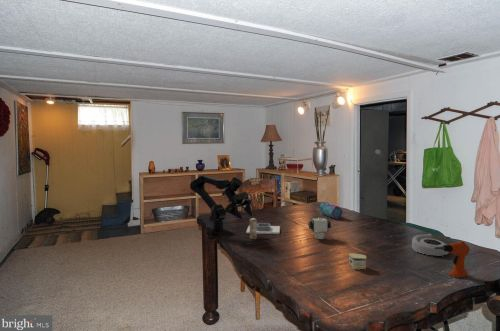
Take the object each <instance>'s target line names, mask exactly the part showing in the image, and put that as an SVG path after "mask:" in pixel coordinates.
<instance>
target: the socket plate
mask: <svg viewBox="0 0 500 331" xmlns="http://www.w3.org/2000/svg"><path fill="white" fill-rule="evenodd" d="M280 231H281V225H271V223H268V222H265V223H264V222H257V235H258V234H259V235H261V234H262V235H264V234H265V235H280V233H281V232H280ZM245 233H246V234H249V235H250V225H248V226H247V229H246V232H245Z"/></svg>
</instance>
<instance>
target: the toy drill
mask: <svg viewBox="0 0 500 331" xmlns="http://www.w3.org/2000/svg"><path fill="white" fill-rule="evenodd" d="M434 249H441V250H444V251H447V252H449V253H450V254H454V255H455V258H454V260H453V261H452V263H453V269H452V270H451V271H449V272H448V274H450V275H451V276H454V277H464V278H466V277H465V276H467V275H468V271H467V270H466V268H465V258H466V257H467V255H469V253H470V251H471V250H470V246H469V245H468V244H467V243H466V242H465V241H459V242H452V243H449V244H447V245H444V246H443V247H435V248H434ZM450 275H449V276H450ZM451 276H450V277H451ZM454 277H453V278H454ZM467 277H468V276H467Z"/></svg>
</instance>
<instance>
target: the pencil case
mask: <svg viewBox="0 0 500 331" xmlns="http://www.w3.org/2000/svg"><path fill="white" fill-rule="evenodd" d="M317 208H319V211H320V212H321V213H322V214H323V215H324V216H327V217H329V218H331V217H332V219H335V220H338V219H339V218H341V217H342V215H343V209H342V207H341V206H338V205H331V204H330V203H329V202H328V201H324V202H322V203H321V204H319V205H318V206H317Z"/></svg>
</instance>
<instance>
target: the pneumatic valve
mask: <svg viewBox="0 0 500 331" xmlns="http://www.w3.org/2000/svg"><path fill="white" fill-rule="evenodd" d="M307 224H308V229H309V230H311V231H312V233H313V232H315V233H314V234H313V236H314V238H315V239H316V240H324V238H325V236H326V235H325V233H324V232H329V230H330V229H331V227H332V223H331V221H330V220H329V219H327V218H326V217H324V218H323V217H322V218H321V217H318V218H310V220H309V221H308V223H307Z"/></svg>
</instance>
